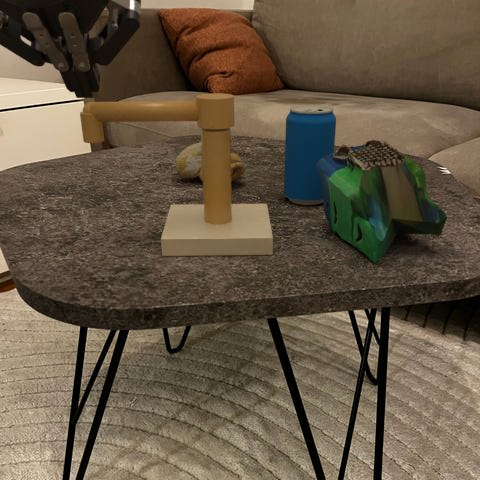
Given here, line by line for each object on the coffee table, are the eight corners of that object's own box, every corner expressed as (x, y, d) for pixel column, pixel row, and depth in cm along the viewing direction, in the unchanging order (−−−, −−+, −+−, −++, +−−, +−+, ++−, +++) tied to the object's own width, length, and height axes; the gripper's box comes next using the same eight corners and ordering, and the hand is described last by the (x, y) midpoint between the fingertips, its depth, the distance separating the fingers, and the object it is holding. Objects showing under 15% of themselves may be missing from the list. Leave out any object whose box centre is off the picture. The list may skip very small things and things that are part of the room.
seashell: (219, 128, 96) (251, 141, 83) (226, 165, 99) (258, 183, 86) (161, 142, 94) (185, 157, 81) (169, 179, 97) (194, 200, 84)
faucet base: (162, 256, 64) (153, 140, 58) (171, 219, 74) (165, 119, 69) (272, 255, 64) (275, 139, 58) (266, 218, 74) (268, 118, 69)
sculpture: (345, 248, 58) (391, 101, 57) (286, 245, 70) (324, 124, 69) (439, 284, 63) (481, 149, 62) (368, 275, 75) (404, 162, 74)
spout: (234, 136, 66) (233, 93, 64) (234, 143, 62) (234, 98, 60) (87, 137, 66) (82, 94, 63) (79, 145, 62) (73, 100, 60)
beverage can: (338, 197, 82) (345, 107, 77) (316, 209, 78) (322, 114, 72) (298, 190, 86) (301, 103, 80) (274, 201, 81) (276, 109, 75)
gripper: (128, -147, 36) (162, 53, 53) (-87, -146, 36) (15, 54, 53) (123, -52, 34) (160, 126, 51) (-106, -51, 34) (6, 127, 51)
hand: (86, 89), depth 52 cm, fingers closed
